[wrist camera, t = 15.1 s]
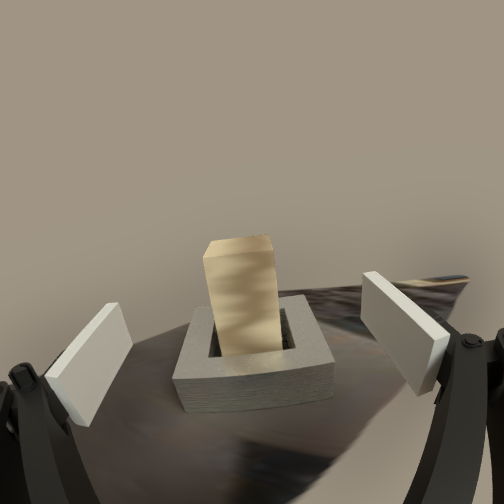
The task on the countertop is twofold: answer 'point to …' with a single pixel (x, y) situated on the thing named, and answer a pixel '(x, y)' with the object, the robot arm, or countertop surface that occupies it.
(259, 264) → the upright pine post
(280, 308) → the grey square frame block
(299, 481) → the countertop surface
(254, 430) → the countertop surface
